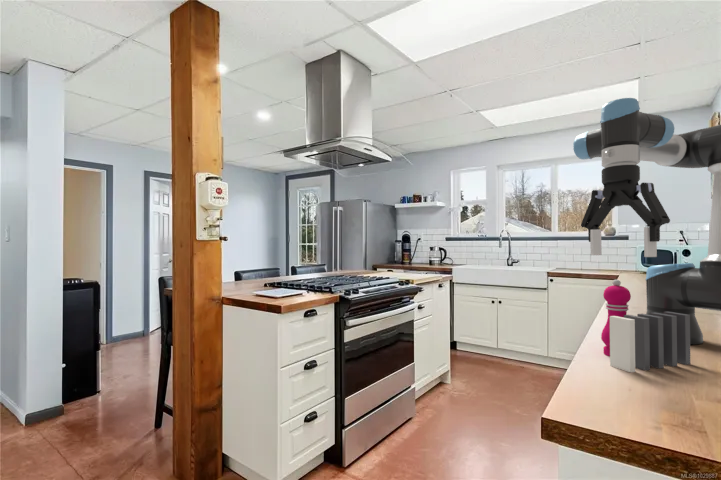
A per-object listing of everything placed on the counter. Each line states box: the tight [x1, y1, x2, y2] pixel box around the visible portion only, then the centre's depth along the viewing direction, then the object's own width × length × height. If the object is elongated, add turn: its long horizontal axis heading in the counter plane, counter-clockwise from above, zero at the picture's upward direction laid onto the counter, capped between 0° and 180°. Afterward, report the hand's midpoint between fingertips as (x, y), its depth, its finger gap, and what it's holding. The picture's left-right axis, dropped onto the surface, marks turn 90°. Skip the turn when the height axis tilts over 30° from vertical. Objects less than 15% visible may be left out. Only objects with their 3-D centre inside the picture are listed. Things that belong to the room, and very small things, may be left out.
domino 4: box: [664, 312, 691, 366], centre depth 96 cm, size 2×5×12 cm, turn 17°
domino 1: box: [624, 314, 651, 371], centre depth 92 cm, size 2×5×12 cm, turn 17°
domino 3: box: [651, 313, 678, 367], centre depth 95 cm, size 2×5×12 cm, turn 17°
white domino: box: [609, 316, 636, 373], centre depth 91 cm, size 2×5×12 cm, turn 17°
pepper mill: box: [600, 279, 632, 357], centre depth 101 cm, size 7×7×20 cm
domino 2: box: [636, 313, 665, 369], centre depth 93 cm, size 2×5×12 cm, turn 17°
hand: (621, 256), depth 91 cm, fingers open, 13 cm apart
